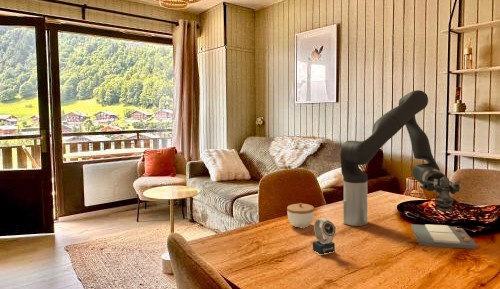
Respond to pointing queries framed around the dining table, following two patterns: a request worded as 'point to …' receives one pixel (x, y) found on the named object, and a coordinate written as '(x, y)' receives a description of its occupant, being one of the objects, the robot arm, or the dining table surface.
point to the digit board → (442, 236)
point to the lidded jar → (300, 214)
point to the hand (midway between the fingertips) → (446, 190)
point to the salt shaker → (444, 196)
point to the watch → (328, 232)
